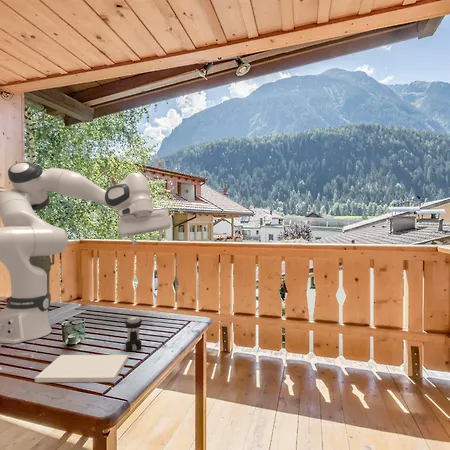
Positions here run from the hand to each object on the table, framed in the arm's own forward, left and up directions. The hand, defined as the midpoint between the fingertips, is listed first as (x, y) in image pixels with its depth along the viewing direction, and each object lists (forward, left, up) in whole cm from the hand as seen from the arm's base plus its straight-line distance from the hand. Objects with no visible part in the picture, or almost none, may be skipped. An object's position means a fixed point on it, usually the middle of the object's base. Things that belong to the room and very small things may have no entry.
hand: (147, 243), depth 128 cm
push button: (0, -24, -33) cm, 40 cm away
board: (-9, -38, -33) cm, 51 cm away
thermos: (-55, +25, -33) cm, 69 cm away
